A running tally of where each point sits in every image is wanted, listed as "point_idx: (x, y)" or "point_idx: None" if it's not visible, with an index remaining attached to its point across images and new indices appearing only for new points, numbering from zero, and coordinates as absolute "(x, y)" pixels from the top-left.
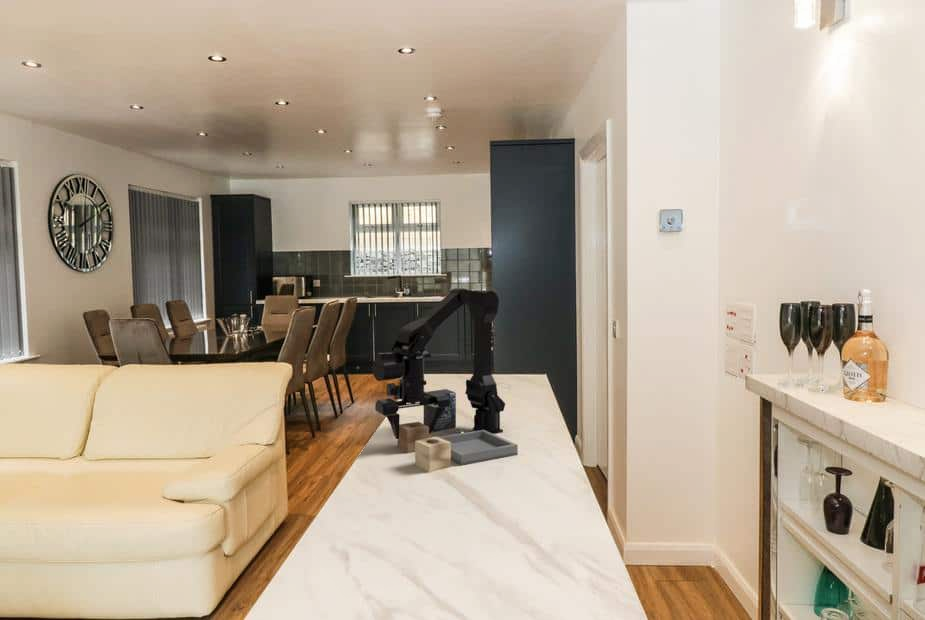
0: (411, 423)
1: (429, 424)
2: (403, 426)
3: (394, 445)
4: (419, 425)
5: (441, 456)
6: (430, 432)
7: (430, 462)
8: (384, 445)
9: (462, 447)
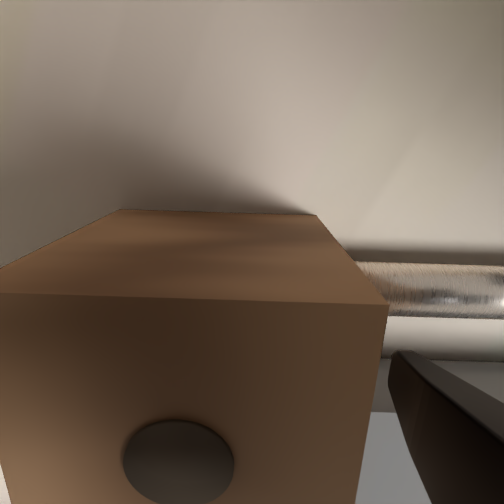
0: (218, 339)
1: (448, 465)
2: (28, 422)
3: (108, 144)
4: (273, 486)
5: None
6: (397, 404)
7: None
8: (21, 91)
9: None
